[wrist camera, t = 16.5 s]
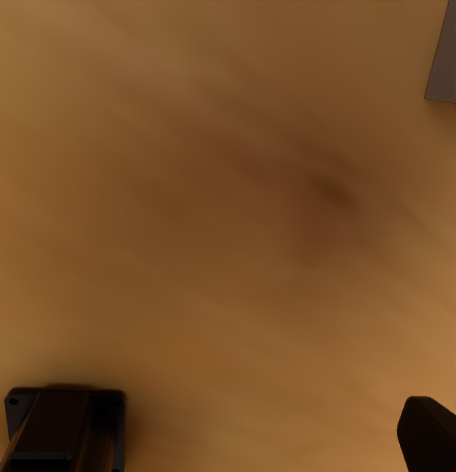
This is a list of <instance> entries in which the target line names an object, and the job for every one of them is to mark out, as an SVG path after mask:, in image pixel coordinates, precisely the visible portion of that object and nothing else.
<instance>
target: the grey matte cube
mask: <svg viewBox="0 0 456 472" xmlns="http://www.w3.org/2000/svg"><path fill="white" fill-rule="evenodd" d="M424 98H427V99H433V100H439V101H445V102H451V103H456V0H450V1H449V5H448V8H447V12H446V16H445V20H444V24H443V28H442V32H441V35H440V39H439V43H438V47H437V51H436V55H435V59H434V62H433V66H432V70H431V74H430V78H429V82H428V86H427V89H426V93H425V97H424Z"/></svg>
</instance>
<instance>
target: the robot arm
mask: <svg viewBox="0 0 456 472" xmlns="http://www.w3.org/2000/svg"><path fill="white" fill-rule="evenodd" d="M13 398H16V399H17V400H15V399H13ZM114 400H117V401H119V402H115V401H114ZM4 402H5V410H6V417H7V425H8V433H9V440H10V444H9V446H8V448H7V450H6V452H5V454H4V456H3V458H2V460H1V463H0V472H124V468H125V417H126V398H125V395H124V394H123V393H121V392H108V391H65V390H22V389H15V390H11V391H9V393H8V394H7V396H6V397H5V401H4ZM397 437H398V441H399V444H400V447H401V450H402V453H403V456H404V459H405V462H406V465H407V468H408V471H409V472H456V415H455V414H454V413H452V412H451V411H449V410H448V409H447V408H445V407H444V406H442V405H441V404H440V403H438V402H437V401H435V400H434V399H432V398H430V397H427V396H410V397H409V398H408V399H407V400H406V402H405V405H404V408H403V411H402V413H401V416H400V419H399V422H398V425H397Z"/></svg>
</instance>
